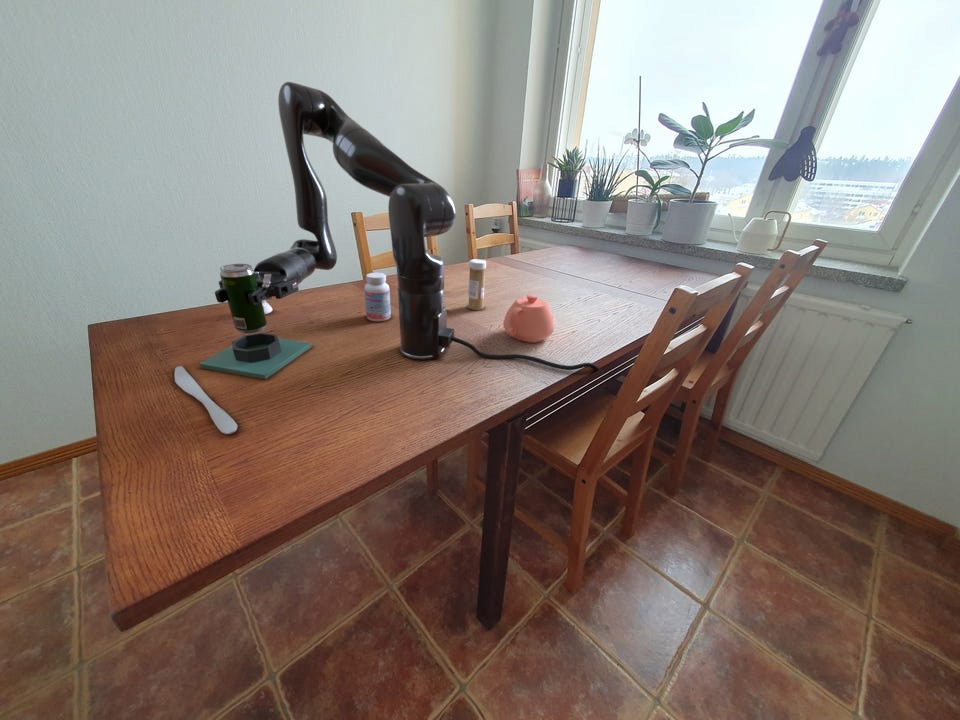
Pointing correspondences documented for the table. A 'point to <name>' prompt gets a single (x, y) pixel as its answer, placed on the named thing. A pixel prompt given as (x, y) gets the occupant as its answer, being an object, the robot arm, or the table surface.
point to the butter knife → (205, 401)
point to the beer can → (242, 297)
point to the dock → (256, 367)
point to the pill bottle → (377, 297)
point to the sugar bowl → (529, 319)
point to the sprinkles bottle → (476, 284)
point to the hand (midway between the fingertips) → (234, 298)
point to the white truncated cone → (266, 307)
